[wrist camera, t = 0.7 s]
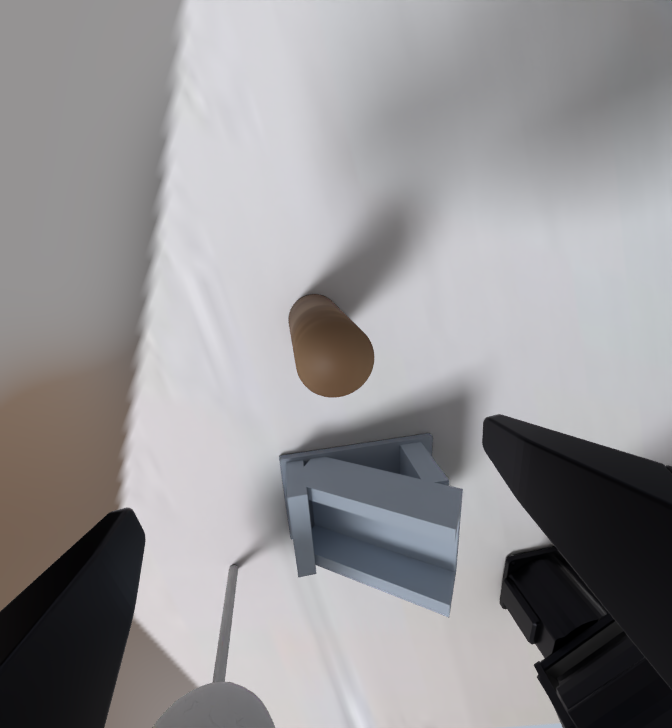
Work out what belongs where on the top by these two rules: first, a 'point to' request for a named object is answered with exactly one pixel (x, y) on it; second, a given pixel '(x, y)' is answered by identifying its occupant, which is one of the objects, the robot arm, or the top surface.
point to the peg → (328, 347)
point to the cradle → (376, 517)
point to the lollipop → (219, 689)
